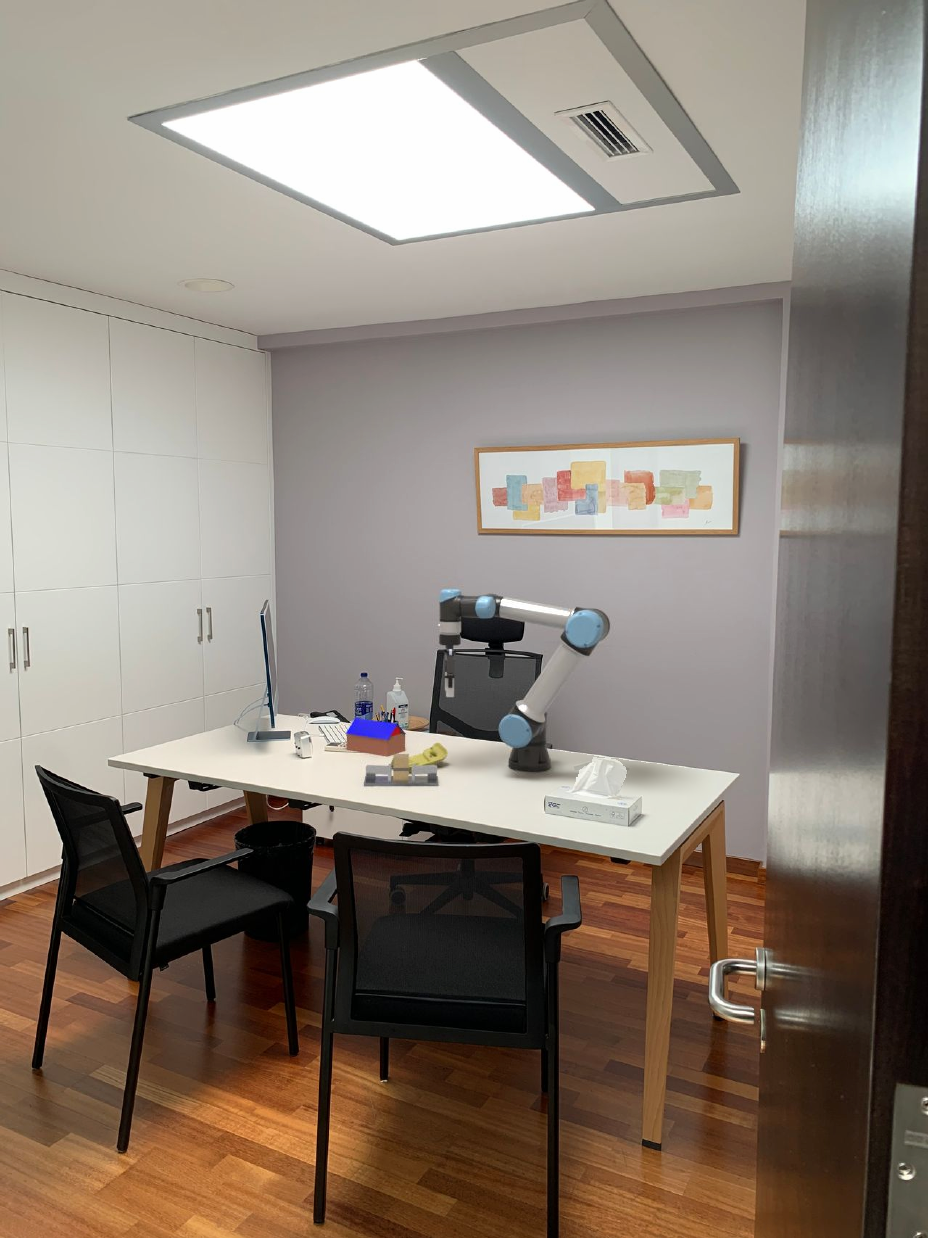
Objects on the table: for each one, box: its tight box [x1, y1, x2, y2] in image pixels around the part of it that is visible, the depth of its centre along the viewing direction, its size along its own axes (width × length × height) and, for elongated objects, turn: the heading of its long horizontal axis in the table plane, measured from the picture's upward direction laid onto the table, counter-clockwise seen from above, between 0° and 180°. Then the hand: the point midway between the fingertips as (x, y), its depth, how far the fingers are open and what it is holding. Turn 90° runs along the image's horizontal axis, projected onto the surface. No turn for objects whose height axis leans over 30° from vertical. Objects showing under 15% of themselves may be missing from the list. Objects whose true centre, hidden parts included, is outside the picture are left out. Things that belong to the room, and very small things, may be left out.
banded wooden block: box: [392, 753, 410, 781], centre depth 303 cm, size 5×5×8 cm
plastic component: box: [390, 742, 449, 774], centre depth 324 cm, size 20×7×10 cm
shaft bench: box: [363, 763, 439, 787], centre depth 303 cm, size 24×9×6 cm, turn 93°
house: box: [345, 717, 407, 758], centre depth 349 cm, size 12×20×12 cm, turn 58°
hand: (449, 693), depth 321 cm, fingers open, 13 cm apart
